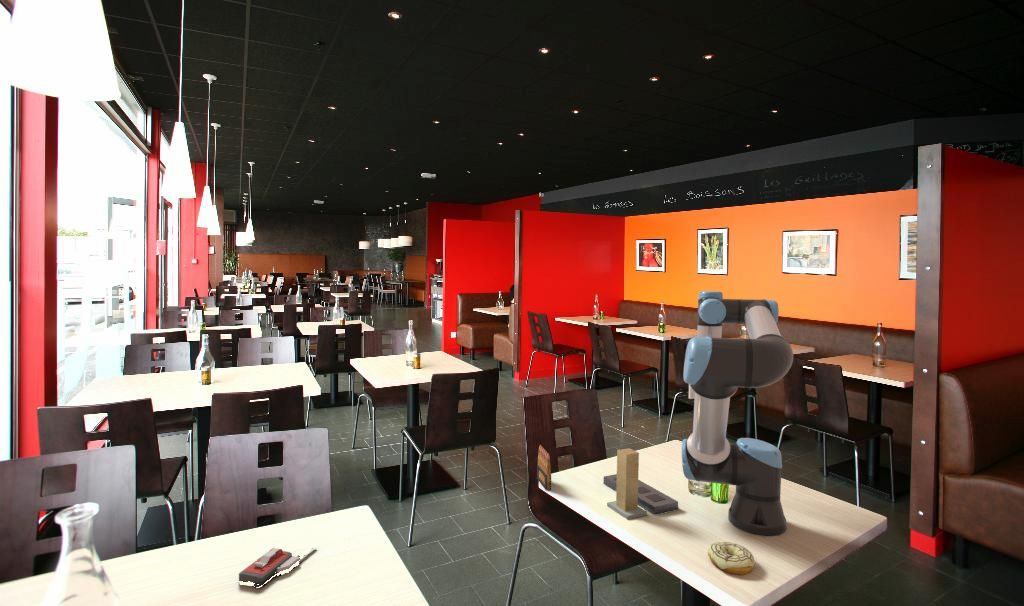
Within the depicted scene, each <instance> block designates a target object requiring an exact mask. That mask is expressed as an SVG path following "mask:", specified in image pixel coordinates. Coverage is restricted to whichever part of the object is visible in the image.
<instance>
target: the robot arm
mask: <svg viewBox="0 0 1024 606" xmlns="http://www.w3.org/2000/svg"><path fill="white" fill-rule="evenodd" d="M779 311H780V310H779V304H778V302H777V301H776V300H773V299H766V298H764V299H751V298H750V299H749V298H748V299H747V298H746V299H743V298H741V299H740V298H739V299H736V298H724V294H723V292H721V291H717V290H700V291H699V293H698V298H697V330H696V331H697V332H696V333H697V335H696V336H695V337H692V338H690V339H689V340H688V342H687V346H686V349H685V355H684V363H683V374H682V375H683V382H684V383H685V384H687V388H688V399H690V400H692V399H694V400H693V401H694V403H693V404H694V405H693V423H692V424H693V426H692V433H690V435H689V436H688V438H684V439H683V440H682V442H681V463H682V464H681V465H682V472H683V475H684V477H685V478H686V479H687V480H689V481H696V482H701V483H708V484H709V483H710V484H719V485H720V484H721V485H728V486H729V485H730V486H735V494H734V496H733V499H732V502H731V504H730V506H729V508H728V513H727V514H728V515H727V516H728V517H727V518H728V521H729V523H731V525H733V526H735V527H736V528H737V529H740V530H742V531H744V532H747V533H751V534H755V535H760V536H776V535H781V534H783V533H785V532H786V530H787V518H786V516H785V512H784V509H783V505H782V503H781V502H782V501H781V493H782V492H781V489H782V488H781V487H782V468H783V464H782V463H783V462H782V461H783V460H782V453H781V451H780V449H779V448H778V447H777V446H775V445H773V444H771V443H770V442H768V441H767V442H766V441H764V440H762V439H761V440H760V439H756V438H751V437H740V438H738V439H737V441H736V443H733V442H730V441H729V440H728V439H727V427H728V421H729V411H730V409H729V408H730V402H731V397H733V396H734V394H735V393H737V391H738V388H749V389H751V388H752V389H760V388H765V387H768V386H771V385H773V384H775V383H777V382H779V381H780V380H781V379H783V378H784V377H785V376H786V375H787V374H788V372H789V371H790V369H791V367H792V365H793V362H794V352H793V351H794V350H793V349H792V346H791V344H790V342H789V341H788V340H787V339H786V338H785V337H784V336H782V334H781V332H780V330H779V327H778V325H777V324H778V321H779V313H780V312H779ZM723 324H725V325H726V324H728V325H729V324H731V325H732V324H734V325H745V326H746V330H747V334H748V337H749V338H737V337H731V338H729V337H723V336H722V335H723V334H722V332H723Z"/></svg>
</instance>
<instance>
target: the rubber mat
mask: <svg viewBox="0 0 1024 606" xmlns="http://www.w3.org/2000/svg"><path fill="white" fill-rule="evenodd" d="M606 506H607V507H608V508H610V509H611V510H613V511H615V512H616V513H617V514H619V515H620V516H622V517H623V518H625V519H626V520H631V519H634V518H639V517H645V516H647V515H648V511H647V510H645V509H643V508H642V507H640V506H638V509H635V510H630V511H624V510H622V509H621V508H619V507H618V506H616V500H613V501H608V502H606ZM644 515H645V516H644Z"/></svg>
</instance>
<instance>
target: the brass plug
mask: <svg viewBox="0 0 1024 606" xmlns="http://www.w3.org/2000/svg"><path fill="white" fill-rule="evenodd" d="M639 457H640V453H639V452H638V451H636V450H634V449H632V448H623V449H617V450H616V474H617V487H616V491H615V492H616V494H615V501H616V506H618V507H619V508H621V509H622V510H624V511H630V510H635V509H638V507H639V505H638V480H639V465H640V464H639V463H640V462H639V461H640V460H639V459H640V458H639Z"/></svg>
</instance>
